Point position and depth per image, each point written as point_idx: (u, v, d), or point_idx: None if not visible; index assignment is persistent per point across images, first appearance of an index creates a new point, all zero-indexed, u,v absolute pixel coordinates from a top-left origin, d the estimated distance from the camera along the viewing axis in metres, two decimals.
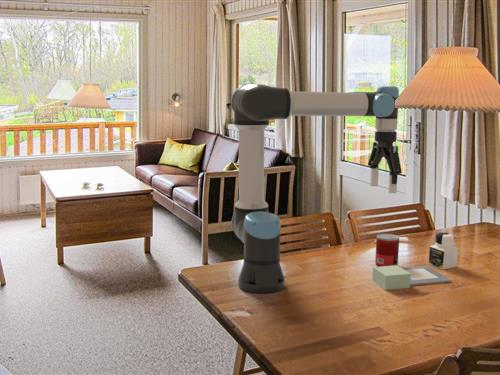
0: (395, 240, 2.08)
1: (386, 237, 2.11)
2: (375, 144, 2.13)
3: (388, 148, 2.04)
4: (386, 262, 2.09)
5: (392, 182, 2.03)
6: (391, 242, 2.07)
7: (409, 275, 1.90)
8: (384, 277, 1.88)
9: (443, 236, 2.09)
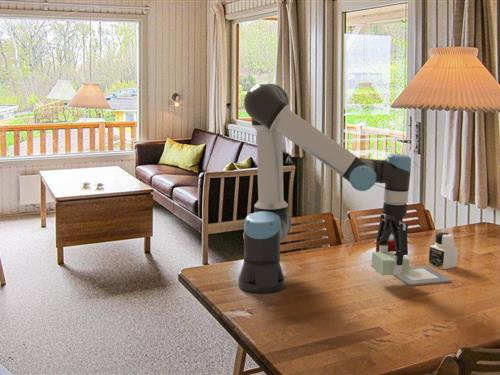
0: None
1: None
2: (383, 216, 1.95)
3: (397, 224, 1.86)
4: None
5: (397, 263, 1.86)
6: (391, 242, 2.07)
7: (408, 261, 1.89)
8: (382, 261, 1.88)
9: (443, 236, 2.09)
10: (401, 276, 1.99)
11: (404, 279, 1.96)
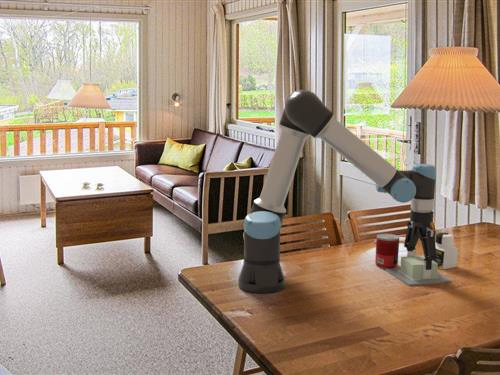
0: (395, 240, 2.08)
1: (386, 237, 2.11)
2: (410, 223, 2.04)
3: (425, 230, 1.95)
4: (386, 262, 2.09)
5: (426, 268, 1.95)
6: (391, 242, 2.07)
7: (436, 265, 1.97)
8: (412, 266, 1.96)
9: (443, 236, 2.09)
10: (401, 276, 1.99)
11: (404, 279, 1.96)
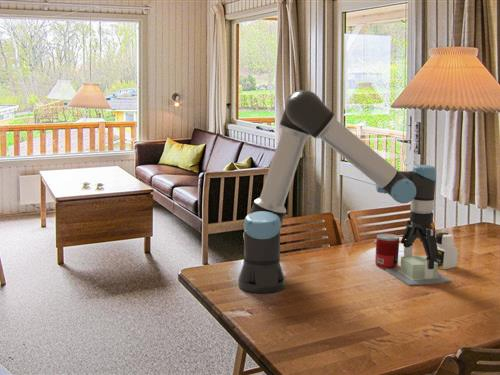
0: (395, 240, 2.08)
1: (386, 237, 2.11)
2: (409, 223, 2.04)
3: (424, 231, 1.95)
4: (386, 262, 2.09)
5: (429, 267, 1.93)
6: (391, 242, 2.07)
7: (436, 265, 1.97)
8: (412, 266, 1.96)
9: (443, 236, 2.09)
10: (401, 276, 1.99)
11: (404, 279, 1.96)
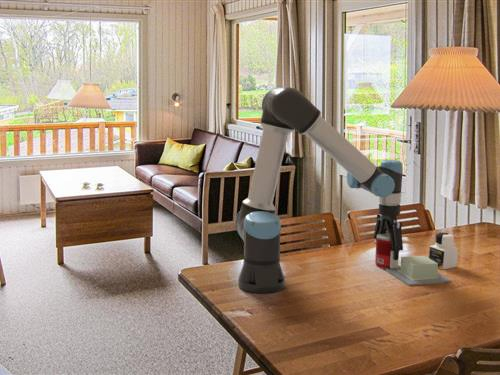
0: None
1: (386, 237, 2.11)
2: (379, 216, 2.15)
3: (392, 222, 2.06)
4: (386, 262, 2.09)
5: (394, 258, 2.06)
6: None
7: (436, 265, 1.97)
8: (412, 266, 1.96)
9: (443, 236, 2.09)
10: (401, 276, 1.99)
11: (404, 279, 1.96)
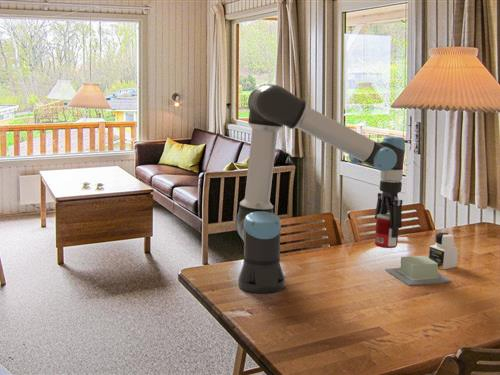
0: None
1: (386, 216, 2.09)
2: (380, 195, 2.13)
3: (392, 199, 2.04)
4: (385, 241, 2.07)
5: (392, 236, 2.05)
6: None
7: (436, 265, 1.97)
8: (412, 266, 1.96)
9: (443, 236, 2.09)
10: (401, 276, 1.99)
11: (404, 279, 1.96)
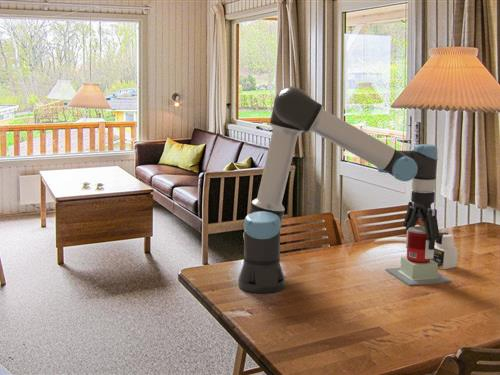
0: None
1: (418, 230, 1.99)
2: (411, 204, 2.02)
3: (426, 210, 1.93)
4: (419, 256, 1.97)
5: (429, 247, 1.93)
6: (424, 235, 1.95)
7: (436, 265, 1.97)
8: (412, 266, 1.96)
9: (443, 236, 2.09)
10: (401, 276, 1.99)
11: (404, 279, 1.96)
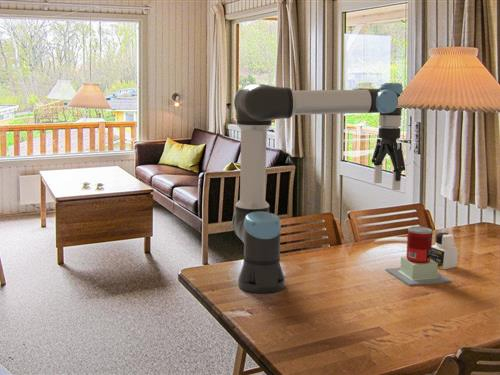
0: (428, 233, 1.96)
1: (418, 230, 1.99)
2: (379, 141, 2.13)
3: (392, 145, 2.03)
4: (418, 256, 1.97)
5: (396, 179, 2.02)
6: (424, 236, 1.95)
7: (436, 265, 1.97)
8: (412, 266, 1.96)
9: (443, 236, 2.09)
10: (401, 276, 1.99)
11: (404, 279, 1.96)
